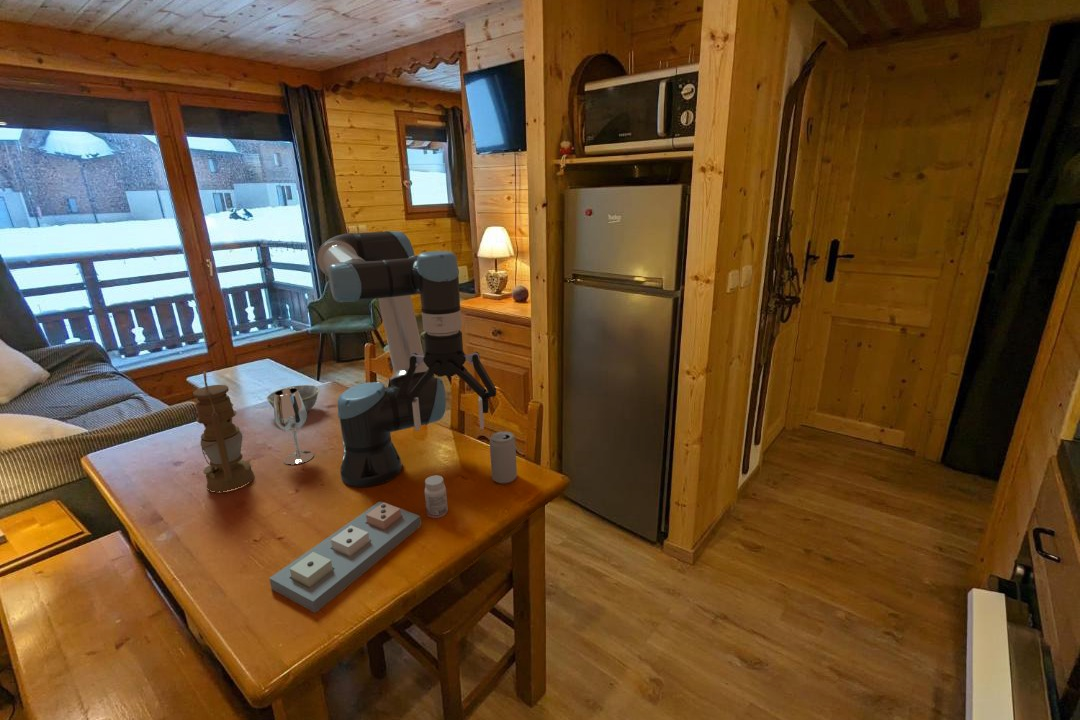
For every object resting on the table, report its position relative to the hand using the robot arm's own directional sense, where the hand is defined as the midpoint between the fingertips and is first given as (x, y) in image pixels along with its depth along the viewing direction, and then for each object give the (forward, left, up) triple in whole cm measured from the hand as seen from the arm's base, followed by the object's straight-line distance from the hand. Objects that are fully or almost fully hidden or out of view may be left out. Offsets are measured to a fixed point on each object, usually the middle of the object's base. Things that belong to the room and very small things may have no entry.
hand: (450, 427), depth 105 cm
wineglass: (-55, 0, -22) cm, 60 cm away
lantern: (-60, -16, -22) cm, 66 cm away
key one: (-10, -30, -20) cm, 37 cm away
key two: (-10, -21, -20) cm, 30 cm away
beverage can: (+2, +17, -22) cm, 28 cm away
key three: (-10, -12, -20) cm, 25 cm away
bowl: (-83, +20, -22) cm, 89 cm away
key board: (-10, -21, -22) cm, 32 cm away
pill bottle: (-4, -2, -22) cm, 22 cm away
